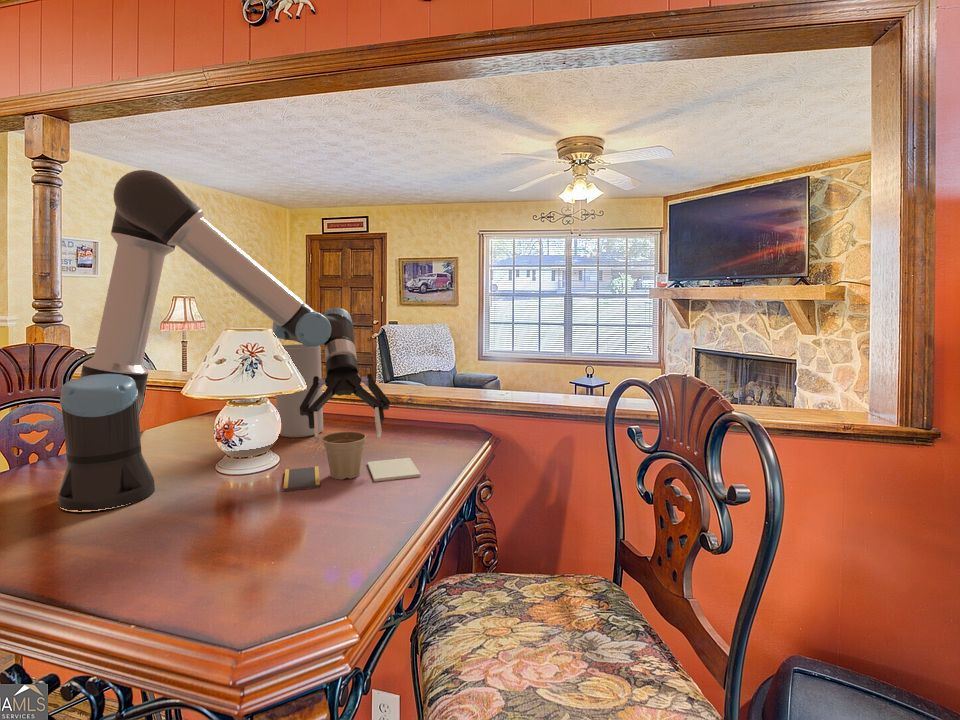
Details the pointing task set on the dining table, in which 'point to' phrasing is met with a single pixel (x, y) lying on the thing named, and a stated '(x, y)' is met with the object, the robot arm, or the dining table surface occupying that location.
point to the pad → (393, 469)
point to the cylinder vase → (290, 403)
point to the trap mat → (301, 478)
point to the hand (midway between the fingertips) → (348, 437)
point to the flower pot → (344, 453)
